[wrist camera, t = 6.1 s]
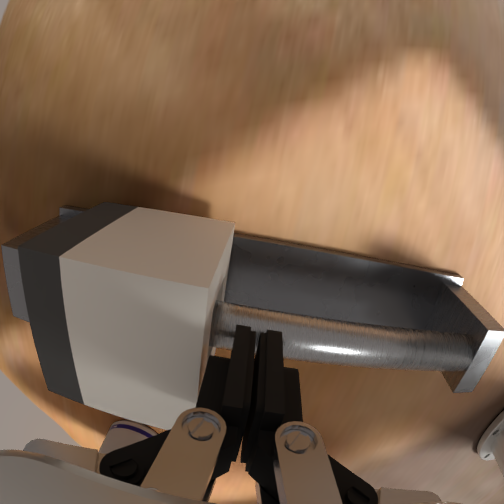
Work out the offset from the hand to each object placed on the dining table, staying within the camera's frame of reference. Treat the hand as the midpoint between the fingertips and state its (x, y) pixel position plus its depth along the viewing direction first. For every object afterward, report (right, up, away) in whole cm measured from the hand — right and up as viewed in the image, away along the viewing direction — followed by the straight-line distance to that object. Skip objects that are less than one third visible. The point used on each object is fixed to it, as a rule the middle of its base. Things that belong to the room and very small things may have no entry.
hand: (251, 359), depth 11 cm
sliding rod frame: (0, +2, +7) cm, 7 cm away
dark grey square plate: (-7, +3, +5) cm, 10 cm away
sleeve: (-4, +3, +5) cm, 7 cm away
